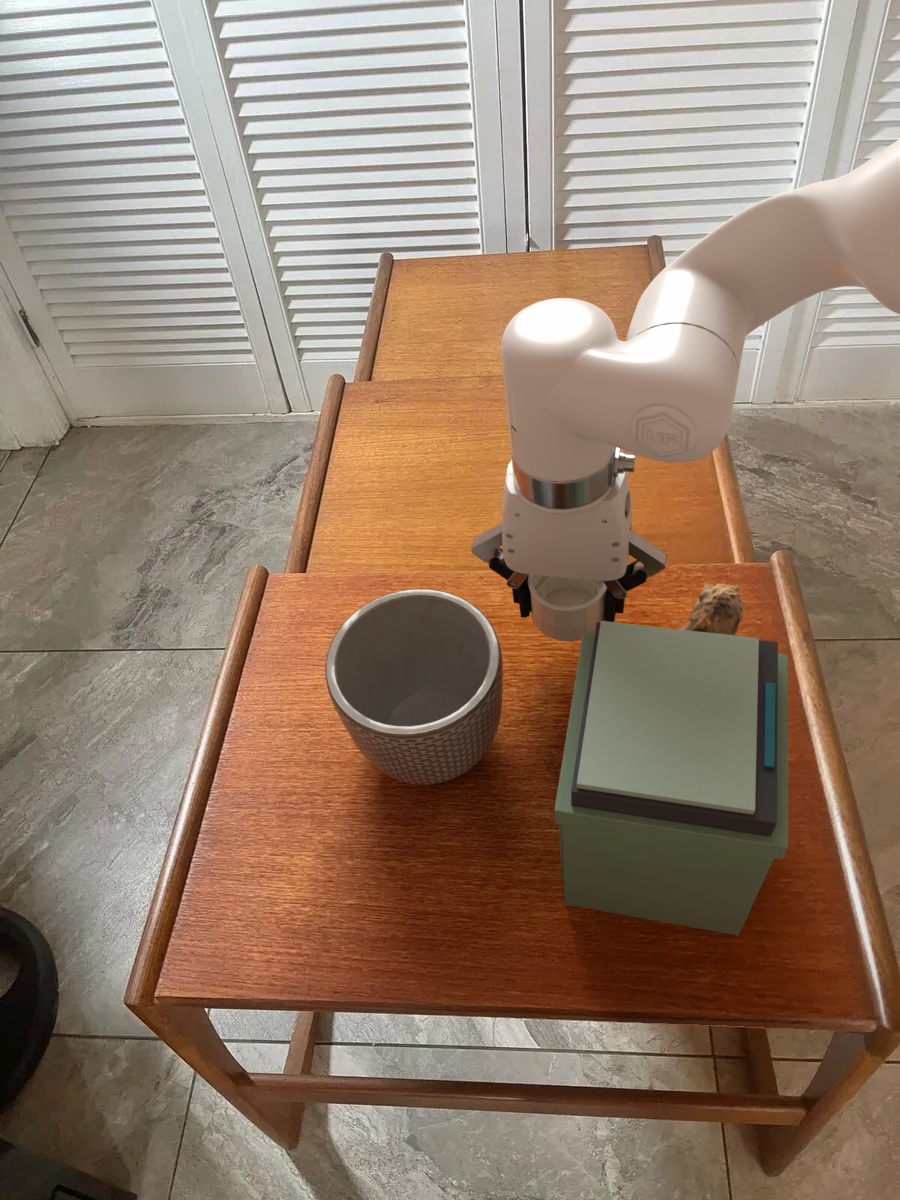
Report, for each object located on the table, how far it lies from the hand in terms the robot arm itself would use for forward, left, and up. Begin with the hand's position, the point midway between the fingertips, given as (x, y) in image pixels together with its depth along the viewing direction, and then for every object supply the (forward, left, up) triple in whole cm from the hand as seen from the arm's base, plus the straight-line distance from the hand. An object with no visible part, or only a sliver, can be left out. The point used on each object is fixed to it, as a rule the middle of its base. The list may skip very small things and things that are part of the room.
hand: (569, 608), depth 81 cm
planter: (+11, +12, -6) cm, 17 cm away
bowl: (0, 0, -1) cm, 1 cm away
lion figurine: (-9, +2, -6) cm, 11 cm away
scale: (-9, +17, +12) cm, 23 cm away
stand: (-9, +17, -5) cm, 21 cm away
